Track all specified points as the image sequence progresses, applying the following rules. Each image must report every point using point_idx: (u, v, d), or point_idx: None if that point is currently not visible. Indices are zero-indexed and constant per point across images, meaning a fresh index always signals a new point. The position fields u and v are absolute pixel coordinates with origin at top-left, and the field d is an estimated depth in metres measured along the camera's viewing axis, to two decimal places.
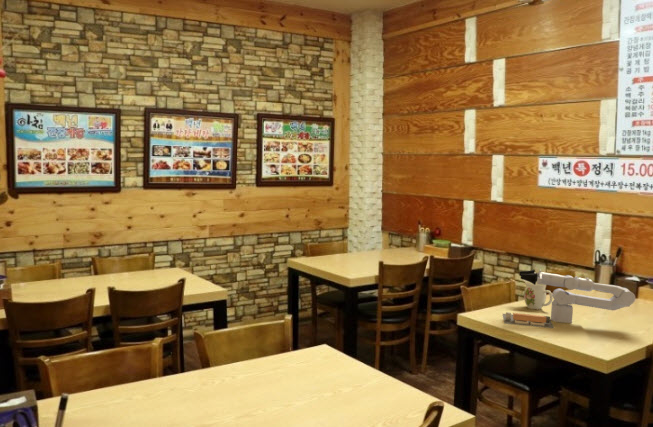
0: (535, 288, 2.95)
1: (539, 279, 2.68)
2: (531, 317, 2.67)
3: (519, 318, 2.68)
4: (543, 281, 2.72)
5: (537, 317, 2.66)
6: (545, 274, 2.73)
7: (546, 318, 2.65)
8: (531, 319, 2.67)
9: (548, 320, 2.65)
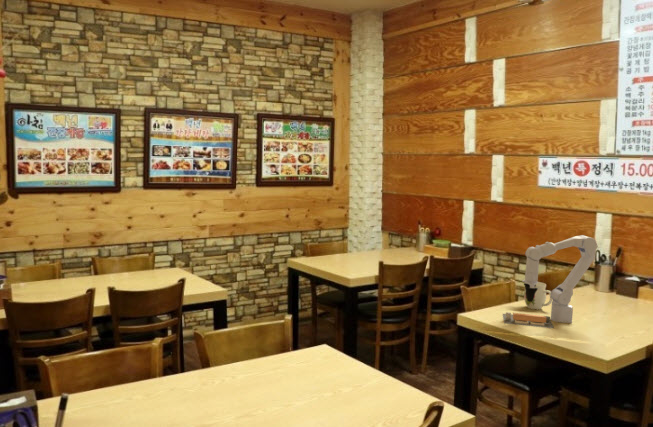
0: None
1: (531, 286, 2.66)
2: (531, 317, 2.67)
3: (519, 318, 2.68)
4: (534, 279, 2.70)
5: (537, 317, 2.66)
6: (526, 277, 2.72)
7: (546, 318, 2.65)
8: (531, 319, 2.67)
9: (548, 320, 2.65)
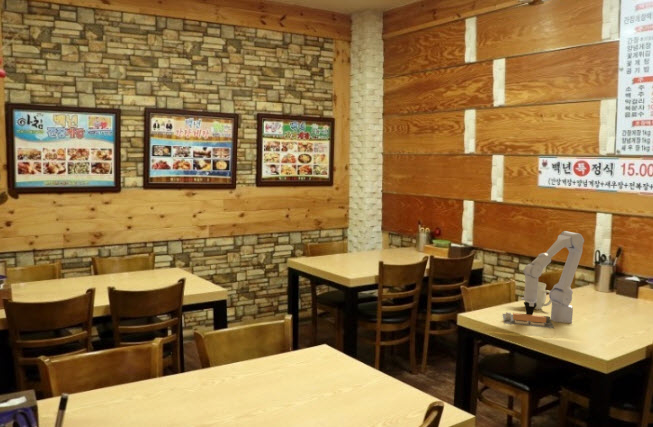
0: None
1: (530, 304, 2.63)
2: (531, 317, 2.67)
3: (519, 318, 2.68)
4: (533, 297, 2.66)
5: (537, 317, 2.66)
6: (525, 294, 2.68)
7: (546, 318, 2.65)
8: (531, 319, 2.67)
9: (548, 320, 2.65)
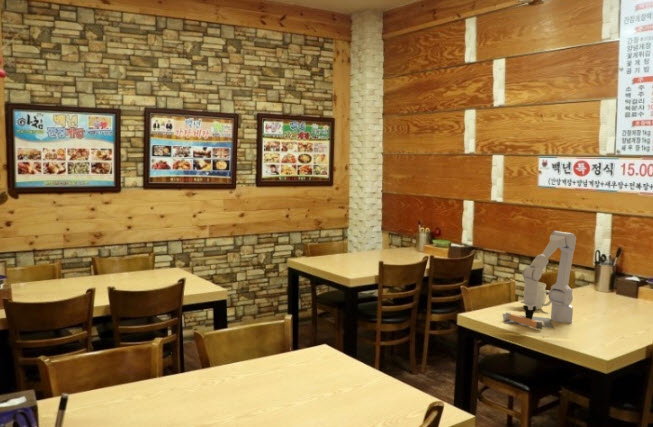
0: None
1: (529, 307, 2.56)
2: (524, 320, 2.61)
3: (515, 319, 2.66)
4: (532, 300, 2.60)
5: (529, 321, 2.59)
6: (525, 297, 2.62)
7: (536, 323, 2.56)
8: (524, 322, 2.61)
9: (538, 326, 2.55)
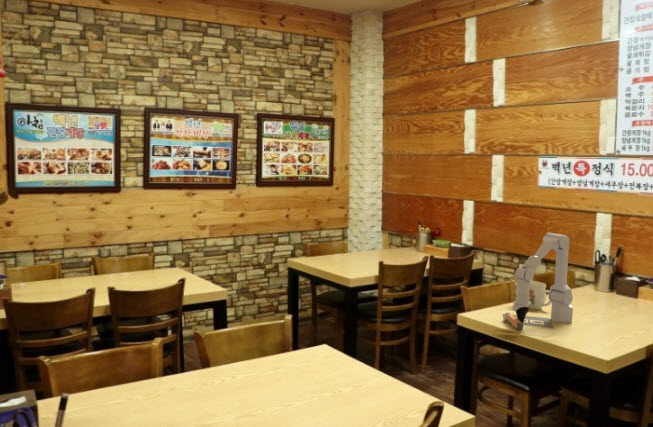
0: (535, 288, 2.95)
1: (513, 307, 2.55)
2: (512, 320, 2.60)
3: (508, 319, 2.66)
4: (521, 301, 2.58)
5: (514, 321, 2.58)
6: (516, 298, 2.60)
7: (516, 324, 2.54)
8: (512, 322, 2.60)
9: (517, 326, 2.53)
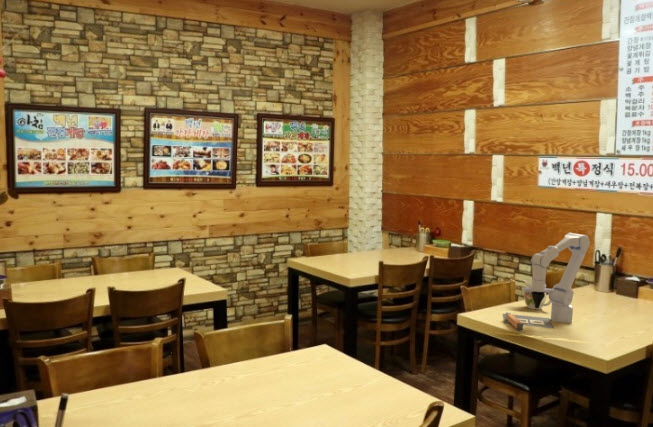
0: None
1: (522, 289, 2.67)
2: (512, 320, 2.60)
3: (508, 319, 2.66)
4: (533, 285, 2.65)
5: (514, 321, 2.58)
6: None
7: (516, 324, 2.54)
8: (512, 322, 2.60)
9: (517, 326, 2.53)
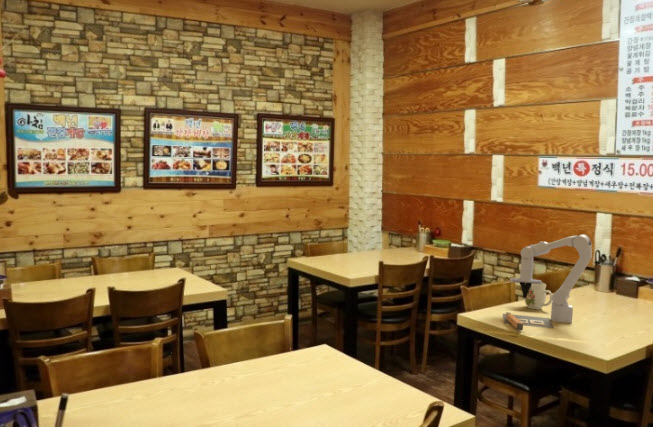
0: (535, 288, 2.95)
1: (510, 279, 2.84)
2: (512, 320, 2.60)
3: (508, 319, 2.66)
4: (520, 276, 2.81)
5: (514, 321, 2.58)
6: None
7: (516, 324, 2.54)
8: (512, 322, 2.60)
9: (517, 326, 2.53)
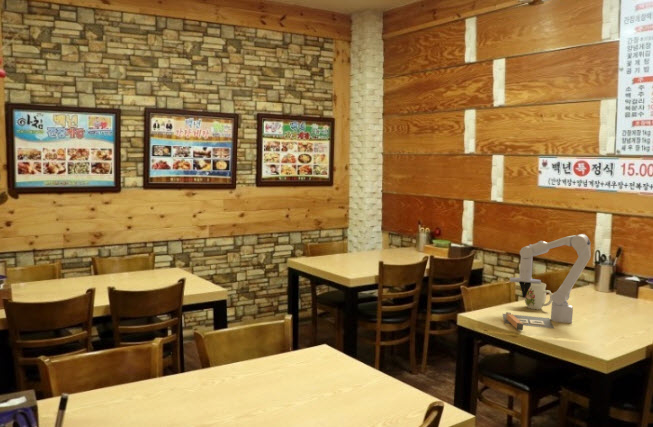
0: (535, 288, 2.95)
1: None
2: (512, 320, 2.60)
3: (508, 319, 2.66)
4: (520, 275, 2.82)
5: (514, 321, 2.58)
6: None
7: (516, 324, 2.54)
8: (512, 322, 2.60)
9: (517, 326, 2.53)
